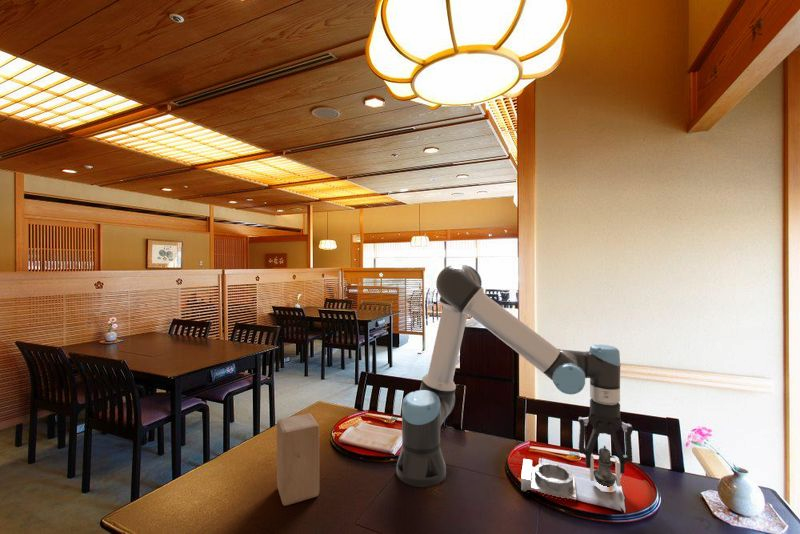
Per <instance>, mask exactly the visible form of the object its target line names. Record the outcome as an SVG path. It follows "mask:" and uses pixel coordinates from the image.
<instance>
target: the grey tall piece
mask: <svg viewBox="0 0 800 534" xmlns="http://www.w3.org/2000/svg"><path fill="white" fill-rule="evenodd" d="M597 462H598V468H597V469H594V480H595V482H598V483H599V484H601V485H603V486H607V487H610V486H614V485H615V483H616V481H615V480H616V476H615V473H614V472H612V468H611V467H612V465H613V463H612V461H611V451H610V450H609V449H608V448H607V446H606V445H603V447H601V448H600V449H599V450H598V459H597Z"/></svg>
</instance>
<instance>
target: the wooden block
mask: <svg viewBox="0 0 800 534" xmlns="http://www.w3.org/2000/svg"><path fill="white" fill-rule="evenodd" d="M276 486H277V490H278V494H279V497H280V501H281V504H282V506H290V505H293V504H297V503H299V502H303V501H306V500H309V499H313V498H316V497H318V496H319V494H320V425H319V423H318V422H317V421H316V419H315V418H314V416H313V415H312V413H303V414H297V415H292V416H288V417H287V416H286V417H283V418H279V419H277V421H276Z"/></svg>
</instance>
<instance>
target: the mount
mask: <svg viewBox="0 0 800 534" xmlns="http://www.w3.org/2000/svg"><path fill="white" fill-rule="evenodd" d="M522 461H523V462H522V469H521V477H520V487H521V488H520V489H521V490H520V491H522V492H526V491H527V490H535V491H538V492H541V493H544V494H548V495H552V496H556V497H561V498H567V499H569V498H570V497H571V498H576V499H577V494H576V493H577V492H576V485H575V484H576V483H575V477H574V476H575V475H574V474H573V472H571V471H570V470H569V469H568V468H567V467H565V466H563V465H560V464H558V463H553V462H540V463H538V464H537V465H535V466H533V460H532V459H527V458H523V460H522Z"/></svg>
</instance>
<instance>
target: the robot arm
mask: <svg viewBox="0 0 800 534" xmlns="http://www.w3.org/2000/svg"><path fill="white" fill-rule="evenodd" d="M479 273H480V272H479V271H478V270H476V269H475V268H474V267H472V266H470V265H467V264H452V265H448V266H447V267H444V268H442V270H441V271H440V272H438V275H437V278H436V283H435V284H436V291H437V293H438V294H439V304H440V305H441V306H442V308H441V309H442V310H441V314H440V318H439V323H438V327H437V332H436V337H435V341H434V345H433V351H432V354H431V360H430V364H429V369H428V373H427V374H425V375H424V376H422V380H421V383H420V388H419V390H415V391H411V392H409V393H407V394H406V395H405V397H404V398H403V400H402V405H401V429H402V430H401V434H402V435H401V441H402V443H401V444H402V445H401V449H400V453H399V456H398V459H397V462H396V476H397V478H398V479H399V480H400V481H401V482H402V483H404V484H406V485H408V486H411V487H414V488H415V487H416V488H429V487H434V486H436V485H439V484H440V483H442V482H444V480H445V479H446V477H447V466H446V465H447V464H446V462H445V459H444V456H443V453H442V450H441V426H442V425H443V424H444V422H445V421H446V419H447V418H448V416H449V415H450V414H451V413H452V411H453V410H454V407H455V403H456V394H455V393H456V390H457V389H456V388H457V385H456V384H455V381H454V376H455V372H456V368H457V363H458V359H459V354H460V350H461V346H462V342H463V337H464V331H465V330H466V329H465V328H466V323H467V319H468V315H469V316H470V317H471V318H473V319H474V320H475V321H476V322H478V323H479V324H480V325H482V326H483V327H484V328H485V329H487V330H488V331H489V332H491V333H492V334H493V335H494V336H496V338H498V339H499V340H501V341H502V342H503V343H504V344H506V345H507V346H509V347H510V348H511V349H512V350H514V352H516V353H517V354H518V355H520V356H521V357H523V359H525V360H526V361H527V362H529V363H530V364H531V365H532V366H534V367H535V368H536V369H537V370H539V371H540V372H541V373H543V374H544V375H545V376H546V377H548V379H550V380H551V381H552V382H553V384H554V386H555V387H556V389H557V390H558V391H560V392H561V393H562V394H566V395H577V394H579V393H580V392H581V391H583V389H584V387H585V386H586V379H589V398H590V399H589V414H588V416H587V417H582V416H578V418H577V419H578V423H579V436H578V438H579V439H578V452H579V454H581V455H582V454H583V455H584V456H585V467H586V468H588V469H589V478H590V481H591V482H594V481H595V477H594V470H595V469H594V468H595V465H594V464H595V463H594V462H595V460H594V455H593V451H594V448H595V445H596V443H597V441H598V439H599V437H600V434H602V435H603V434H606V435H609V436H611V438H612V442H613V444H614V447H615V450H616V454H617V456H618V458H616V457H615V459H614V460H615V473H614V475H615V476H616V480H615V483H616V486H617V487H621V474H622V475H624V474H625V471H626V470H625V468H626V467H625V465H626V463H633V448H632V434H633V432H634V429H633V426H632V424H631V423H629V422H628V423H625V422H624V421H622V420H621V403H620V402H621V366H622V365H621V358H620V357H621V353H620V350H619V349H618V348H617V347H615V346H613V345H608V344H593V345H590V347H589V351H581V350H569V349H561V348H557V347H556V346H555V345H553V344H552V343H551V342H549V341H547V339H546V338H544V337H542V336H541V335H540V334H538V333H537V332H536V331H534V330H533V329H532V328H531V327H529V326H528V325H527V324H525V323H524V322H522V321H521V320H520V319H519V318H517V317H516V316H515V315H513V314H512V313H510V312H509V311H508V310H507V309H506V308H504V307H503V306H501V305H500V304H498V303H497V302H496V301H495V300H494V299H492V298H491V297H489V296H488V295H487V294H486V293H485V291H484V287H482V282H483V281H482V277H481V275H480V274H479ZM588 423H590V425H591V426H592V427H593V428H592V431H591V434H590V436H589V440H588V442H587V445H586V448H585V444H586V443H585V441H586V440H585V439H586V427H587V426H588ZM620 428H621V429H622V431H623V432H624V435H623V436H624V449H625V450H624V453H625V454H623V451H622V449H621V446H620V443H619V442H620V441H619V439H618V435H617V431H618V430H619V429H620Z"/></svg>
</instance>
